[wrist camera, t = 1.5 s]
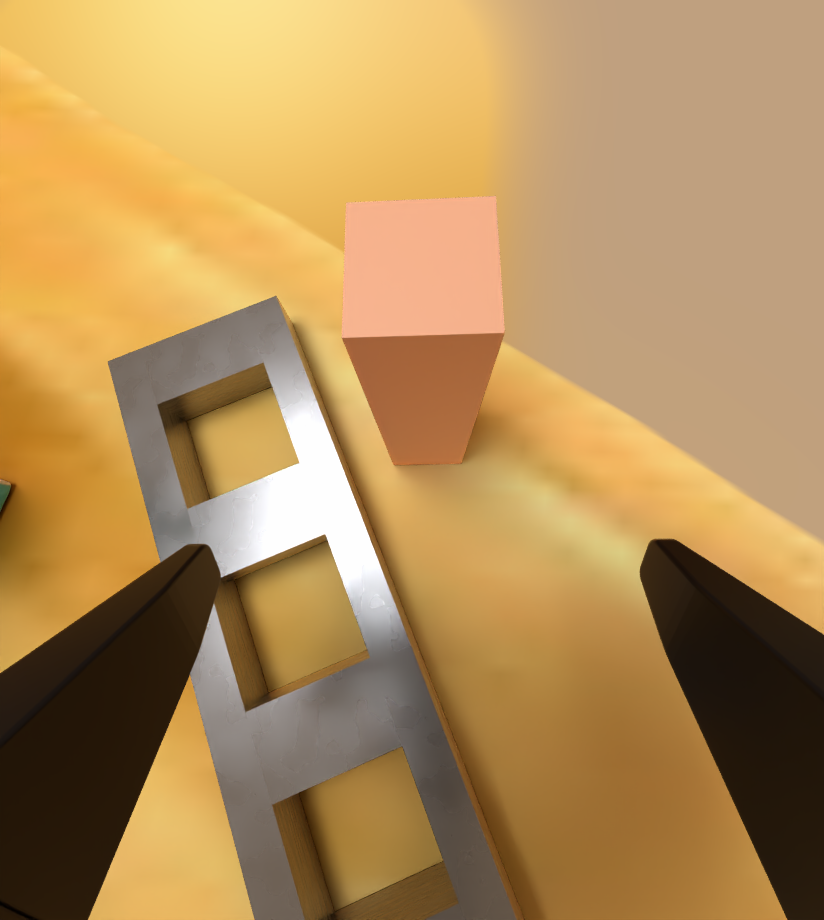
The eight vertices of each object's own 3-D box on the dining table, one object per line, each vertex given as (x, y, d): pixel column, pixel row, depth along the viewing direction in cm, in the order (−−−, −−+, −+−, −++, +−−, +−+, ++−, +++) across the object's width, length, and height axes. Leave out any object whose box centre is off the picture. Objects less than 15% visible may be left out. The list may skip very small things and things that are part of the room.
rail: (526, 925, 17) (542, 986, 15) (321, 1023, 17) (303, 1103, 14) (291, 322, 24) (276, 295, 21) (141, 381, 23) (107, 361, 21)
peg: (461, 463, 22) (504, 332, 9) (393, 465, 22) (341, 338, 9) (458, 399, 22) (495, 196, 10) (393, 401, 23) (346, 202, 10)
